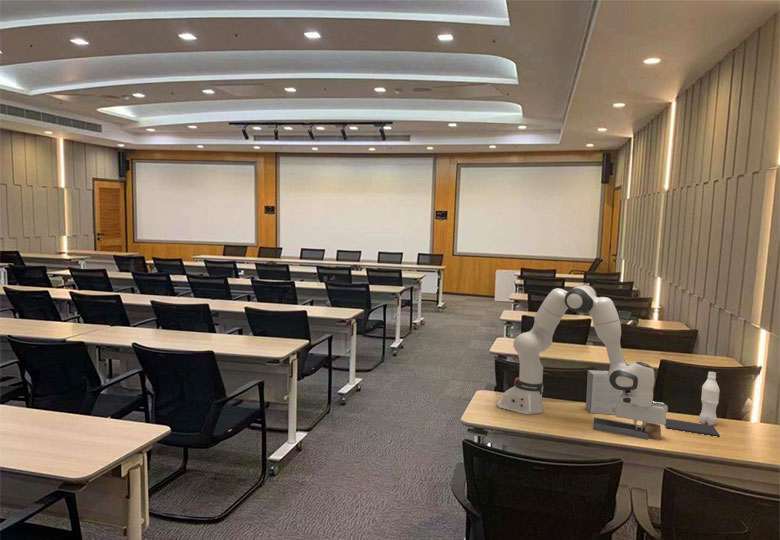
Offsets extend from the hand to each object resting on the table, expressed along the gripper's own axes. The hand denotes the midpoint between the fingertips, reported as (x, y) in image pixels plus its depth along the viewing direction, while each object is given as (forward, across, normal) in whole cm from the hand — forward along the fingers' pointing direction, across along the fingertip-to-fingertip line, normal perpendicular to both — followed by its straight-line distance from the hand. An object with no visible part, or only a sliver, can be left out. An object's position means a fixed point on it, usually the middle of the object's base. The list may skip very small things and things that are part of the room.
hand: (638, 430), depth 221 cm
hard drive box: (+2, +15, -24) cm, 28 cm away
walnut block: (+2, -5, 0) cm, 6 cm away
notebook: (+3, -22, -21) cm, 31 cm away
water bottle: (+2, -31, -33) cm, 46 cm away
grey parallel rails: (+2, +8, 0) cm, 8 cm away
